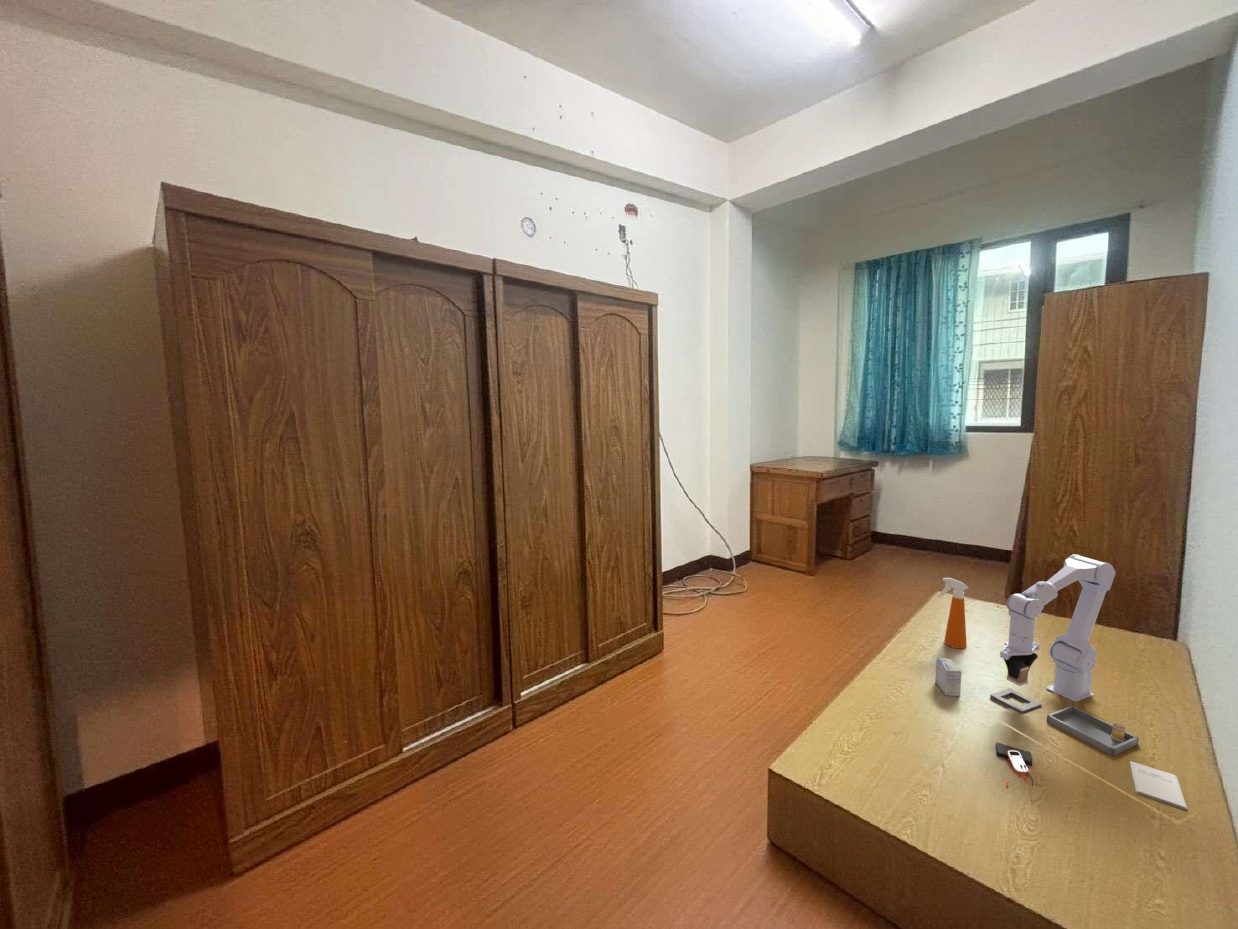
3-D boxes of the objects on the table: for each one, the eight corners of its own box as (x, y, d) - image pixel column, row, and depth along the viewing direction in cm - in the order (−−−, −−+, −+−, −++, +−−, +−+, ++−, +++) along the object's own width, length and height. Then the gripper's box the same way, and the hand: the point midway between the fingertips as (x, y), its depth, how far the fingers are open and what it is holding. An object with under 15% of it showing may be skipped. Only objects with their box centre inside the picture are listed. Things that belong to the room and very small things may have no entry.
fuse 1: (1014, 677, 156) (1016, 660, 155) (1027, 683, 152) (1029, 666, 152) (1006, 679, 155) (1007, 663, 154) (1019, 686, 151) (1021, 669, 150)
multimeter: (1056, 811, 116) (1058, 797, 116) (992, 786, 124) (993, 774, 123) (1053, 765, 130) (1054, 753, 130) (995, 746, 137) (996, 734, 137)
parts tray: (1071, 713, 149) (1071, 705, 149) (1137, 746, 135) (1138, 737, 135) (1046, 722, 145) (1047, 715, 145) (1112, 757, 131) (1113, 749, 131)
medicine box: (960, 697, 158) (962, 671, 157) (944, 695, 159) (946, 670, 158) (949, 682, 166) (951, 658, 165) (934, 681, 167) (936, 657, 166)
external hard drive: (1135, 796, 119) (1129, 765, 129) (1186, 814, 114) (1176, 780, 124) (1136, 790, 119) (1129, 760, 129) (1187, 807, 114) (1177, 775, 123)
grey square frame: (1009, 691, 160) (1009, 688, 160) (1041, 707, 152) (1041, 704, 152) (990, 698, 157) (990, 694, 157) (1021, 715, 149) (1021, 711, 149)
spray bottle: (930, 638, 195) (934, 574, 191) (960, 639, 193) (964, 574, 189) (939, 648, 188) (943, 581, 184) (970, 649, 186) (975, 581, 182)
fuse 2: (1114, 735, 138) (1115, 722, 138) (1126, 741, 136) (1128, 727, 135) (1108, 737, 138) (1110, 724, 137) (1120, 743, 135) (1122, 730, 135)
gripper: (1022, 623, 157) (1019, 664, 159) (990, 632, 153) (987, 674, 155) (1048, 633, 151) (1044, 675, 153) (1016, 643, 146) (1012, 686, 148)
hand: (1017, 675), depth 153 cm, fingers closed on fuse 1, 4 cm apart
